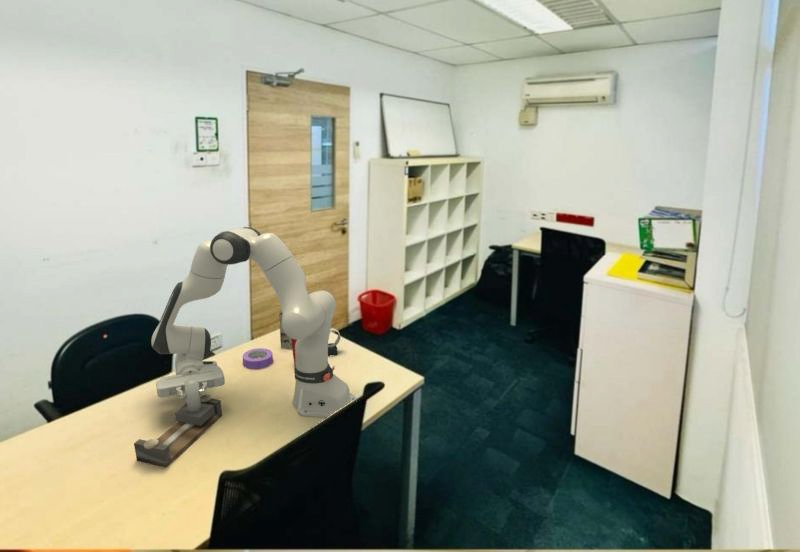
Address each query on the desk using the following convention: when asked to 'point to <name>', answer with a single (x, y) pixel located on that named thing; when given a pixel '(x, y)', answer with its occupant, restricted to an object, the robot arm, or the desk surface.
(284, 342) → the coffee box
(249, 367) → the masking tape
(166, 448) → the rail
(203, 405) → the carriage
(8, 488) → the desk surface
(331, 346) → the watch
